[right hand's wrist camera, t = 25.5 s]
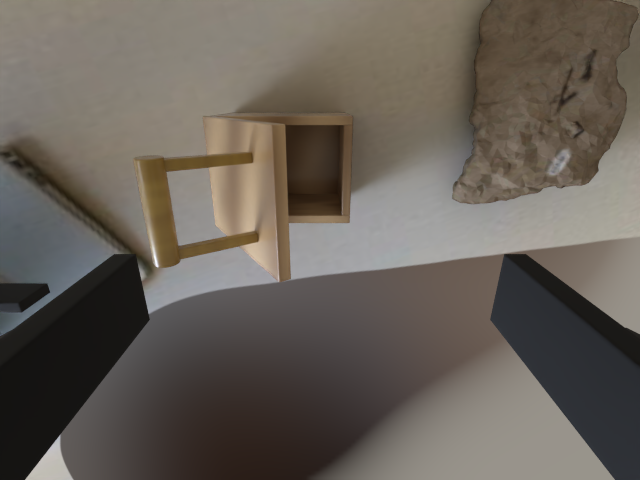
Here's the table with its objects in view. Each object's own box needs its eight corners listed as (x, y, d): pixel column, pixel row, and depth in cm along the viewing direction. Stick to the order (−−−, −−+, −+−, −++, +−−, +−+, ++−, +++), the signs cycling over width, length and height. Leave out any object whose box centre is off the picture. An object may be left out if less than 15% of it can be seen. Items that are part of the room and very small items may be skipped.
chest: (345, 112, 40) (353, 115, 31) (343, 198, 44) (349, 223, 35) (234, 112, 40) (209, 115, 31) (241, 198, 44) (221, 223, 35)
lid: (285, 123, 20) (134, 129, 16) (291, 279, 24) (169, 314, 20) (212, 116, 31) (111, 118, 27) (224, 224, 34) (136, 240, 30)
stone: (582, 210, 41) (612, 217, 35) (448, 200, 44) (455, 205, 38) (625, 8, 36) (667, -23, 30) (472, 13, 39) (485, -14, 33)
